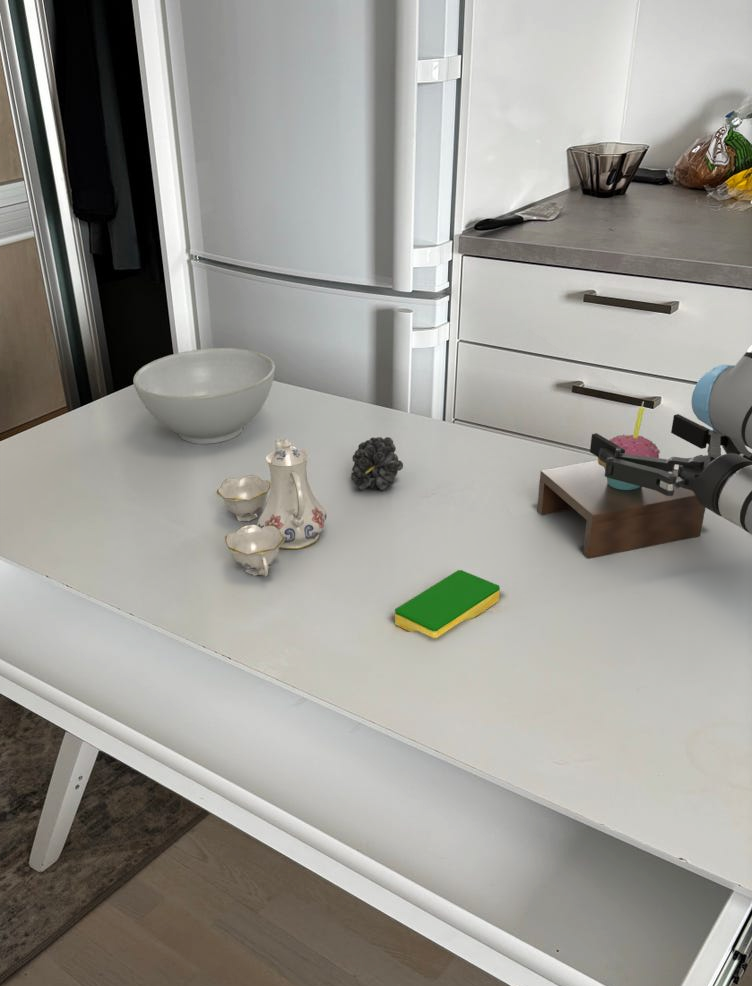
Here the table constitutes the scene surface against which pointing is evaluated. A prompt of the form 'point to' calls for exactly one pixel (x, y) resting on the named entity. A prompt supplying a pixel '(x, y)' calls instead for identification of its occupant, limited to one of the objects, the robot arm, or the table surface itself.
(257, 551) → the chinaware
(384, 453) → the fruit
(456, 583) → the dish sponge
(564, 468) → the shelf
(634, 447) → the cupcake
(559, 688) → the table surface
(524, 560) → the table surface
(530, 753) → the table surface
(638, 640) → the table surface
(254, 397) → the decorative bowl
